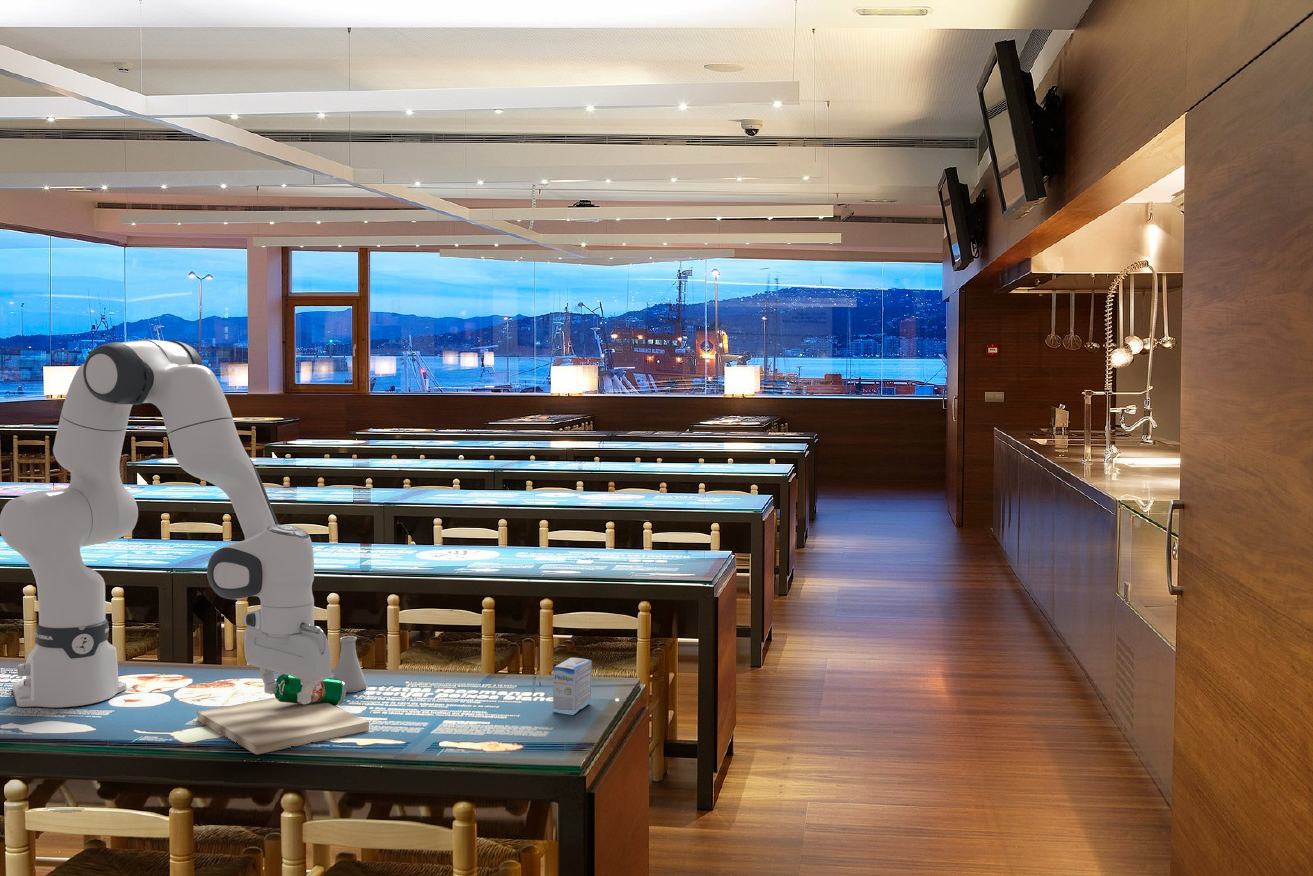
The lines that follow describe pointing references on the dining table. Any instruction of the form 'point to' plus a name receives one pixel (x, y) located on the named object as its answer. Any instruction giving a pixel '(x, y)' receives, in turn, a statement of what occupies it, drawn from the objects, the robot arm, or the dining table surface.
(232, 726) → the birch board
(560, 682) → the medicine box
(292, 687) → the soda can
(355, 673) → the flask
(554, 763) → the dining table surface
